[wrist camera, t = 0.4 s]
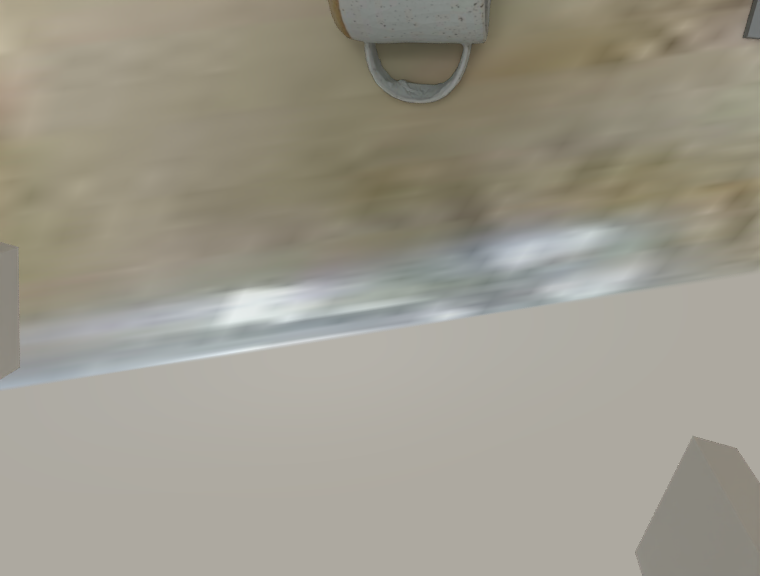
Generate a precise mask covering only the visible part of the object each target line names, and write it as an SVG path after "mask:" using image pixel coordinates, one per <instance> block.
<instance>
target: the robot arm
mask: <svg viewBox="0 0 760 576" xmlns="http://www.w3.org/2000/svg"><path fill="white" fill-rule="evenodd" d="M18 368H20V348H19V262H18V247H17V246H13V245H9V244H6V243H2V242H0V379H2V378H4V377H5V376H7V375H8V374H10V373H12V372H13V371H15V370H17V369H18ZM635 554H636V557H637V560H638V563H639V567H640V570H641V573H642V576H760V483H759V481H758V480H757V478H756V477H755V475H754V474H753V472H752V471H751V469H750V468H749V466H748V465H747V463H746V462H745V460H744V458H743V457H742V455H741V454H740V453H739V451H738V450H737V448H733V447H730V446H727V445H723V444H719V443H716V442H712V441H709V440H705V439H702V438H698V437H694V436H693V437H692V439H691V441H690V443H689V445H688V447H687V449H686V451H685V453H684V455H683V457H682V459H681V461H680V463H679V465H678V467H677V469H676V471H675V473H674V475H673V477H672V479H671V481H670V483H669V485H668V487H667V489H666V491H665V493H664V495H663V497H662V499H661V501H660V503H659V505H658V507H657V509H656V511H655V513H654V515H653V517H652V519H651V521H650V523H649V525H648V527H647V529H646V531H645V533H644V535H643V537H642V539H641V541H640V543H639V545H638V547H637V549H636V551H635Z"/></svg>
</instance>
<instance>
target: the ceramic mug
mask: <svg viewBox="0 0 760 576" xmlns="http://www.w3.org/2000/svg"><path fill="white" fill-rule="evenodd" d="M328 2H329V6H330V10H331V14H332V17H333V19H334V21H335V23H336V25H337V27H338V28H339V29H340V30H341V31H342V33H343V34H344V35H345V36H346V37H348V38H350V39H354V40H359V41H363V42H364V43H365V55H366V61H367V64H368V68H369V70H370V72H371V74H372V76H373V78H374V80H375V82H376V83H377V85H378V86H380V87H381V88H382V89H383V90H384V91H385V92H386V93H388V94H389V95H391V96H392V97H394V98H396V99H399V100H402V101H405V102H410V103H429V102H434V101H437V100H439V99H441V98H443V97H445V96H446V95H448V94H449V93H450V92H451V91H452V90H453V89H454V87H455V86H456V85H457V84H458V83H459V81H460V80H461V78H462V76H463V74H464V72H465V69H466V67H467V63H468V59H469V55H470V51H471V46H472V43H484V42H485V41H486V39H487V34H488V25H489V14H490V2H491V1H490V0H328ZM402 42H420V43H461V44H462V45H463V53H462V57H461V60H460V63H459V65H458V67H457V69H456V71H455V72H454V73H453V75H452V76H451V77H450V78H449V79H448V80H447V81H446V82H444V83H439V84H437V85H428V84H414V83H409V82H407V81H405V80H399V81H396V80H394V79H393V78H391V77H390V76H389V74H388V73H387V72H386V71H385V70H384V69H383V67H382V65H381V61H380V59H379V58H378V53H377V49H376V45H375V43H402Z"/></svg>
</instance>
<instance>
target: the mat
mask: <svg viewBox="0 0 760 576" xmlns="http://www.w3.org/2000/svg"><path fill="white" fill-rule="evenodd" d="M743 38H753V39H760V0H754V1H753V4H752V8H751V11H750V15H749V18H748V22H747V25H746V28H745V32H744V35H743Z"/></svg>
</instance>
